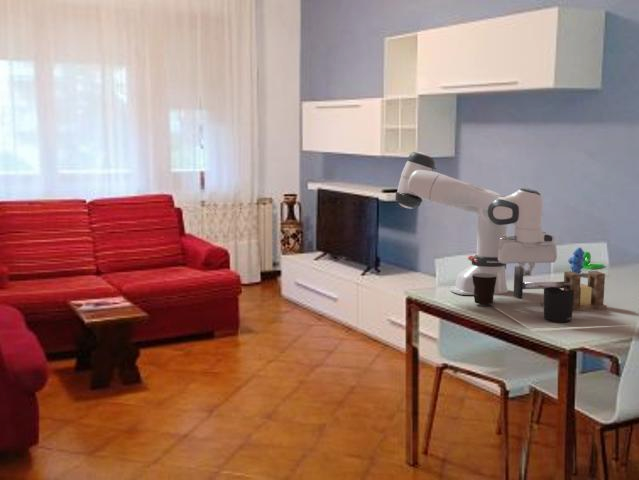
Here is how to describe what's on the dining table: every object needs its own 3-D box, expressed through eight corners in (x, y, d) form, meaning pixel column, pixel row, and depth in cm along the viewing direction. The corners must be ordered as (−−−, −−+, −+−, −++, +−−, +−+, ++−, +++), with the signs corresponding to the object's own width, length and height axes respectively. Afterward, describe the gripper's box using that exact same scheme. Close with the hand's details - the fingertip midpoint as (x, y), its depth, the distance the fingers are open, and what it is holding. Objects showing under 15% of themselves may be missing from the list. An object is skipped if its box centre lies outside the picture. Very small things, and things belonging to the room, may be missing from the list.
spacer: (579, 305, 250) (580, 287, 249) (571, 301, 256) (572, 284, 256) (590, 305, 251) (591, 287, 250) (581, 301, 257) (582, 283, 256)
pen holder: (549, 323, 230) (551, 293, 228) (538, 316, 239) (539, 287, 238) (577, 323, 231) (579, 292, 229) (565, 316, 240) (566, 286, 239)
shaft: (519, 298, 248) (520, 268, 246) (513, 295, 252) (514, 266, 251) (573, 297, 250) (574, 267, 249) (566, 294, 255) (568, 265, 254)
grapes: (571, 271, 323) (573, 245, 321) (587, 273, 319) (588, 246, 317) (562, 275, 314) (563, 248, 312) (578, 277, 310) (579, 249, 308)
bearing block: (552, 310, 248) (553, 275, 246) (540, 304, 256) (542, 271, 255) (606, 309, 250) (608, 274, 249) (593, 303, 259) (595, 270, 257)
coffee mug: (491, 306, 254) (492, 278, 253) (467, 303, 259) (468, 275, 258) (501, 300, 264) (502, 273, 263) (479, 297, 269) (479, 271, 267)
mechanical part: (590, 271, 327) (591, 253, 326) (579, 269, 331) (580, 251, 330) (605, 268, 334) (606, 251, 333) (594, 266, 339) (595, 249, 337)
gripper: (502, 237, 243) (501, 277, 245) (559, 236, 246) (557, 276, 248) (495, 235, 249) (494, 274, 251) (551, 234, 252) (549, 273, 254)
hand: (526, 275), depth 249 cm, fingers closed
